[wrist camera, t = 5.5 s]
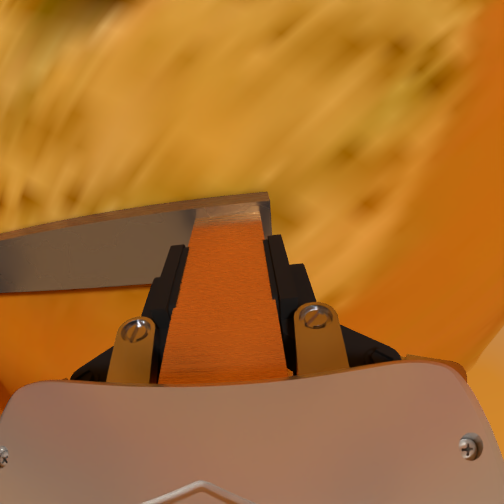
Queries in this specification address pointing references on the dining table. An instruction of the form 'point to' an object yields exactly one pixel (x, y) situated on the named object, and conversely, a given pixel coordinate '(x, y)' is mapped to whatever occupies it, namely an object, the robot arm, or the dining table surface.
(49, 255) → the scraper
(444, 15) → the dining table surface
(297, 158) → the dining table surface
